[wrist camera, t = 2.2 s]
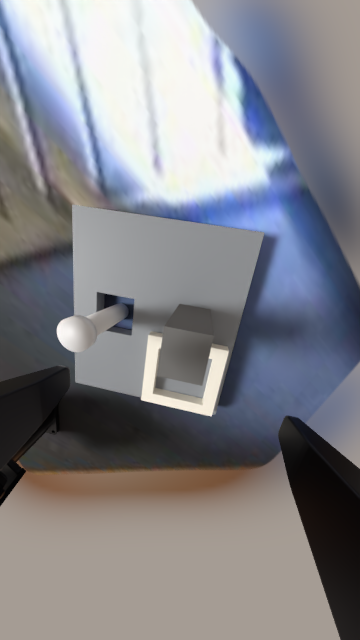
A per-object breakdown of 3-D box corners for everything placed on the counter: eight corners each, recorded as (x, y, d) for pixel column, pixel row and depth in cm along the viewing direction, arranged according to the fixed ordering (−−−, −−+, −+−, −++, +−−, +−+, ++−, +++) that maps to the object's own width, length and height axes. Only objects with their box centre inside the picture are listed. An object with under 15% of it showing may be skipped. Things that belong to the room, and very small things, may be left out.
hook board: (214, 404, 22) (219, 472, 15) (83, 375, 23) (28, 423, 16) (259, 235, 16) (302, 210, 9) (83, 209, 18) (-2, 169, 10)
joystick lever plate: (211, 409, 20) (214, 478, 14) (143, 394, 21) (115, 453, 14) (236, 314, 17) (256, 344, 10) (155, 299, 18) (124, 318, 11)
